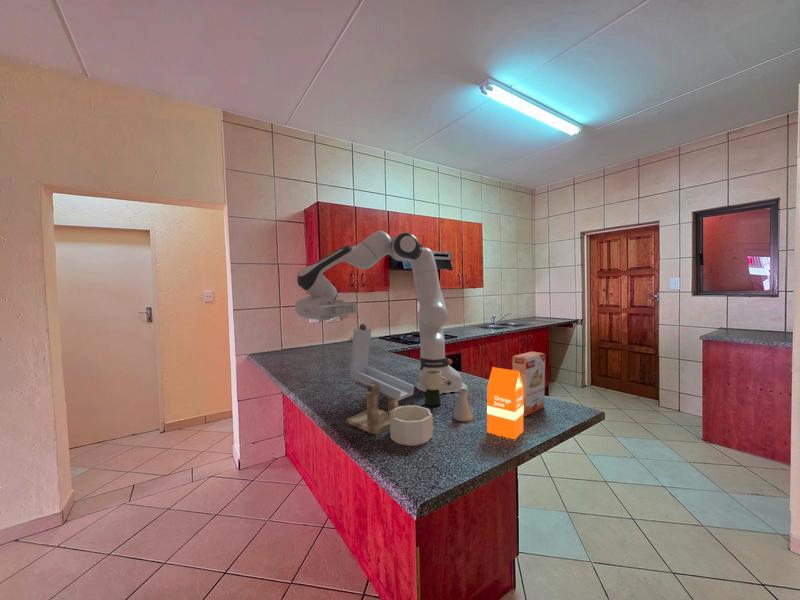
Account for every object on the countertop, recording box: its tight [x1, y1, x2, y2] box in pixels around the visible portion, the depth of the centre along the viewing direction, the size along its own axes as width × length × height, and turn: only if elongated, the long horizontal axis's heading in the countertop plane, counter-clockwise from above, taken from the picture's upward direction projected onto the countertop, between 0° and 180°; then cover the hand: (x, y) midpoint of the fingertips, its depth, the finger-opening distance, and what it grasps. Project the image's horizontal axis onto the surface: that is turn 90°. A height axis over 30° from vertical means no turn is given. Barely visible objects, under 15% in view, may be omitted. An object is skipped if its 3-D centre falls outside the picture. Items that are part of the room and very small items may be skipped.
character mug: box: [418, 369, 446, 407], centre depth 123 cm, size 11×7×13 cm, turn 70°
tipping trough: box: [349, 323, 415, 402], centre depth 104 cm, size 23×7×21 cm, turn 50°
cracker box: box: [511, 351, 546, 417], centre depth 116 cm, size 14×6×21 cm, turn 129°
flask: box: [452, 388, 475, 422], centre depth 110 cm, size 7×7×10 cm
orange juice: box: [486, 366, 524, 440], centre depth 99 cm, size 8×9×20 cm
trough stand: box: [345, 376, 399, 436], centre depth 107 cm, size 14×14×15 cm
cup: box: [389, 404, 434, 447], centre depth 97 cm, size 13×13×7 cm
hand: (347, 310), depth 114 cm, fingers closed
